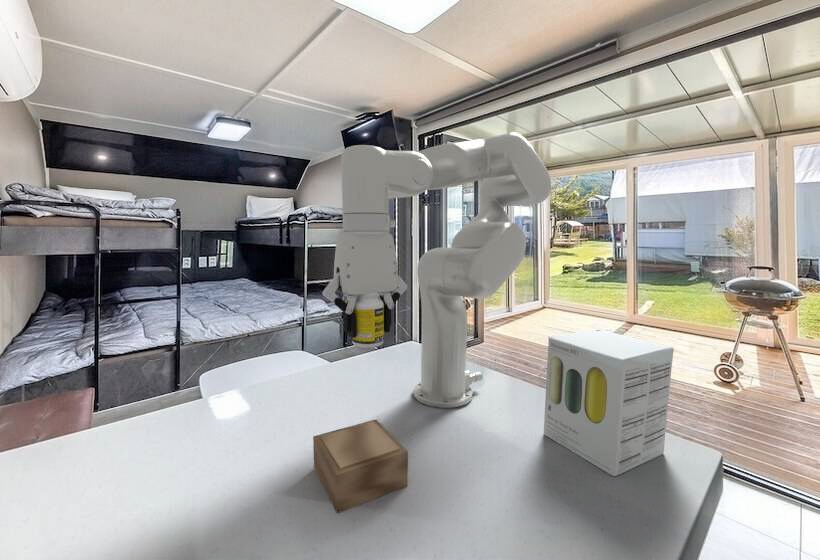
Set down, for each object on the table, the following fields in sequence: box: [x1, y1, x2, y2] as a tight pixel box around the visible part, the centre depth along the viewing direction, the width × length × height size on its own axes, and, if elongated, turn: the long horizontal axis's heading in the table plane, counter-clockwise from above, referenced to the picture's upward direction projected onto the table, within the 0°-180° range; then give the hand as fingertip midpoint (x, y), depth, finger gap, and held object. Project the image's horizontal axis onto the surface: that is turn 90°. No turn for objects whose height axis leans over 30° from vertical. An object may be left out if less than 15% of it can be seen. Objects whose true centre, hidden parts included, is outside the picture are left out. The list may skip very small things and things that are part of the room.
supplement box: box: [543, 328, 675, 477], centre depth 59 cm, size 13×13×18 cm
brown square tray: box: [312, 419, 409, 514], centre depth 51 cm, size 10×10×5 cm
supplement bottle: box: [351, 293, 385, 349], centre depth 62 cm, size 5×5×10 cm
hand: (368, 332), depth 62 cm, fingers closed on supplement bottle, 5 cm apart
